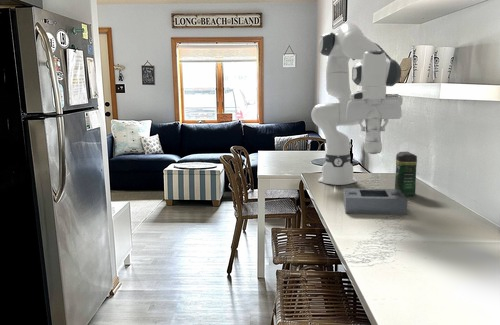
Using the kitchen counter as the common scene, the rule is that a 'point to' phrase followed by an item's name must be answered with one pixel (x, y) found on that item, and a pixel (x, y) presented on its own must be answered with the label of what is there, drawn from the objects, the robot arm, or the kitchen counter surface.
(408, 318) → the kitchen counter surface
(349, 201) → the grey slotted block
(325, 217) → the kitchen counter surface
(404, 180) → the coffee jar
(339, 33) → the robot arm
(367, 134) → the silver bottle
